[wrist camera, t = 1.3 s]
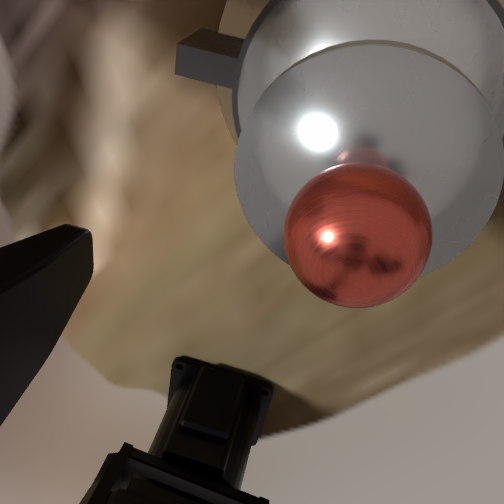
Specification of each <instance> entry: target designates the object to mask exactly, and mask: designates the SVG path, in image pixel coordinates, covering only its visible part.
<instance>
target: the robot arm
mask: <svg viewBox="0 0 504 504" xmlns="http://www.w3.org/2000/svg"><path fill="white" fill-rule="evenodd" d="M93 269H94V263H93V239H92V234H91V232H90V231H89V230H87V229H85V228H81V227H78V226H75V225H71V224H64V225H61V226H58V227H55V228H53V229H50V230H47V231H44V232H42V233H39V234H36V235H33V236H31V237H28V238H25V239H23V240H20V241H17V242H14V243H12V244H9V245H6V246H4V247H1V248H0V426H1V424H2V423H3V422H4V420H5V419H6V417H7V416H8V414H9V413H10V412H11V410H12V408H13V407H14V406H15V404H16V403H17V402H18V400H19V399H20V397H21V396H22V394H23V393H24V391H25V390H26V389H27V387H28V386H29V384H30V383H31V381H32V380H33V379H34V377H35V376H36V374H37V373H38V371H39V370H40V368H41V367H42V366H43V364H44V363H45V361H46V359H47V358H48V356H49V355H50V353H51V352H52V350H53V348H54V346H55V345H56V343H57V341H58V339H59V337H60V336H61V334H62V332H63V330H64V328H65V326H66V324H67V323H68V321H69V319H70V317H71V315H72V313H73V311H74V310H75V308H76V306H77V304H78V302H79V300H80V299H81V297H82V295H83V293H84V291H85V289H86V287H87V286H88V284H89V282H90V280H91V277H92V274H93ZM273 390H274V388H273V386H272V385H271V384H269V383H267V382H263V381H260V380H257V379H253V378H250V377H247V376H243V375H240V374H237V373H233V372H230V371H227V370H224V369H220V368H217V367H214V366H210V365H207V364H204V363H200V362H197V361H194V360H190V359H187V358H184V357H176V358H175V359H174V361H173V364H172V369H171V378H170V387H169V395H168V404H167V410H166V413H165V415H164V417H163V419H162V422H161V424H160V426H159V429H158V431H157V433H156V435H155V438H154V440H153V443H152V445H151V447H150V449H149V451H148V453H146V452H144V451H141V450H139V449H136V448H134V447H133V445H131V444H128V443H126V442H124V444H123V446H122V448H121V449H120V451H119V452H118V453H110V454H108V455H107V457H106V459H105V461H104V463H103V465H102V467H101V469H100V471H99V473H98V475H97V477H96V478H95V480H94V482H93V484H92V485H91V487H90V488H89V490H88V491H87V493H86V494H85V496H84V497H83V499H82V500H81V502H80V504H269V500H268V499H265V498H263V497H259V498H258V497H256V496H253V495H251V494H248V493H246V492H243V491H241V490H240V489H241V485H242V481H243V477H244V473H245V469H246V465H247V460H248V456H249V453H250V449H251V446H254V445H256V443H257V440H258V437H259V434H260V431H261V428H262V425H263V422H264V419H265V416H266V413H267V410H268V407H269V404H270V401H271V398H272V394H273Z"/></svg>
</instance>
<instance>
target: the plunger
mask: <svg viewBox="0 0 504 504" xmlns="http://www.w3.org/2000/svg"><path fill="white" fill-rule="evenodd" d="M234 172H235V185H236V190H237V196H238V199H239V202H240V205H241V208H242V210H243V212H244V215H245V217H246V219H247V221H248V223H249V224H250V226H251V227H252V229H253V230H254V232H255V234H256V235H257V236H258V237H259V238H260V240H261V241H262V242H263V243H264V245H266V246H267V247H268V248H269V249H270V250H271V251H272V252H273V253H274V254H275V255H276V256H278V257H279V258H280V259H282V260H283V261H284V262H286V263H287V264H289V265H290V267H291V269H292V270H293V272H294V273H295V275H296V277H297V278H298V280H299V281H300V282H301V283H302V284H303V285H304V286H305V287H306V288H307V289H308V290H309V291H310V292H312V293H313V294H314V295H316V296H317V297H319V298H321V299H322V300H324V301H327V302H329V303H332V304H335V305H338V306H342V307H349V308H367V307H373V306H377V305H381V304H384V303H386V302H389V301H390V300H392V299H394V298H396V297H398V296H399V295H401V294H402V293H404V292H405V291H406V290H407V289H408V288H410V287H411V286H412V285H413V283H414V282H415V281H416V280H417V279H418V278H419V277H420V276H423V275H425V274H427V273H430V272H432V271H434V270H436V269H437V268H439V267H441V266H443V265H445V264H446V263H448V262H449V261H450V260H452V259H453V258H455V257H456V256H458V255H459V254H460V253H461V252H462V251H463V250H464V249H466V248H467V247H468V246H469V245H470V244H471V243H472V242H473V240H474V239H475V238H476V237H477V236H478V235H479V234H480V233H481V231H482V230H483V228H484V227H485V225H486V224H487V222H488V221H489V219H490V217H491V215H492V213H493V211H494V209H495V207H496V205H497V202H498V199H499V196H500V193H501V189H502V184H503V178H504V148H503V142H502V137H501V134H500V131H499V128H498V125H497V122H496V119H495V118H494V116H493V114H492V112H491V110H490V108H489V106H488V104H487V103H486V101H485V99H484V97H483V95H482V94H481V93H480V91H479V90H478V89H477V87H476V86H475V85H474V83H473V82H472V81H471V80H470V79H469V78H468V77H467V76H466V75H465V74H464V73H463V72H462V71H461V70H460V69H458V68H457V67H456V66H454V65H453V64H451V63H450V62H448V61H447V60H446V59H444V58H443V57H441V56H439V55H437V54H434V53H432V52H430V51H428V50H426V49H424V48H420V47H417V46H414V45H411V44H408V43H403V42H397V41H391V40H371V39H367V40H358V41H349V42H345V43H341V44H337V45H333V46H329V47H327V48H324V49H322V50H319V51H316V52H314V53H312V54H310V55H308V56H306V57H305V58H303V59H301V60H299V61H297V62H296V63H294V64H293V65H292V66H290V67H289V68H288V69H286V70H285V71H284V72H282V73H281V74H280V75H279V76H278V77H277V78H276V79H275V80H274V81H273V82H272V83H271V84H270V85H269V86H268V88H267V89H266V90H265V92H264V93H263V94H262V95H261V97H260V98H259V99H258V101H257V102H256V104H255V105H254V107H253V109H252V110H251V112H250V114H249V116H248V117H247V119H246V121H245V123H244V126H243V128H242V131H241V133H240V136H239V140H238V144H237V148H236V154H235V164H234Z"/></svg>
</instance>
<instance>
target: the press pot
mask: <svg viewBox="0 0 504 504" xmlns="http://www.w3.org/2000/svg"><path fill="white" fill-rule="evenodd" d="M367 39H371V40H391V41H397V42H403V43H408V44H411V45H414V46H417V47H420V48H424V49H426V50H428V51H430V52H432V53H434V54H437V55H439V56H441V57H443V58H444V59H446V60H447V61H448V62H450V63H451V64H453V65H454V66H456V67H457V68H458V69H460V70H461V71H462V72H463V73H464V74H465V75H466V76H467V77H468V78H469V79H470V80H471V81H472V82H473V83H474V85H475V86H476V87H477V89H478V90H479V91H480V93H481V94H482V95H483V97H484V99H485V101H486V103H487V104H488V106H489V108H490V110H491V112H492V114H493V116H494V118H495V119H496V122H497V125H498V128H499V131H500V134H501V137H502V142H503V148H504V0H227V2H226V5H225V8H224V11H223V14H222V17H221V21H220V26H219V31H218V32H214V31H210V30H206V29H202V28H201V29H200V30H198V31H196V32H195V33H193V34H192V35H190V36H188V37H187V38H185V39H184V40H182V41H180V42H179V43H177V52H176V65H175V74H176V75H180V76H184V77H187V78H191V79H195V80H199V81H203V82H207V83H211V84H215V85H216V86H217V91H218V97H219V102H220V106H221V109H222V112H223V116H224V119H225V122H226V124H227V126H228V129H229V131H230V133H231V135H232V138H233V140H234V141H235V143H236V145H237V144H238V140H239V136H240V133H241V131H242V128H243V126H244V123H245V121H246V119H247V117H248V116H249V114H250V112H251V110H252V109H253V107H254V105H255V104H256V102H257V101H258V99H259V98H260V97H261V95H262V94H263V93H264V92H265V90H266V89H267V88H268V86H269V85H270V84H271V83H272V82H273V81H274V80H275V79H276V78H277V77H278V76H279V75H280V74H281V73H282V72H284V71H285V70H286V69H288V68H289V67H290V66H292V65H293V64H294V63H296V62H297V61H299V60H301V59H303V58H305V57H306V56H308V55H310V54H312V53H314V52H316V51H319V50H322V49H324V48H327V47H329V46H333V45H337V44H341V43H345V42H349V41H358V40H367Z"/></svg>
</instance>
